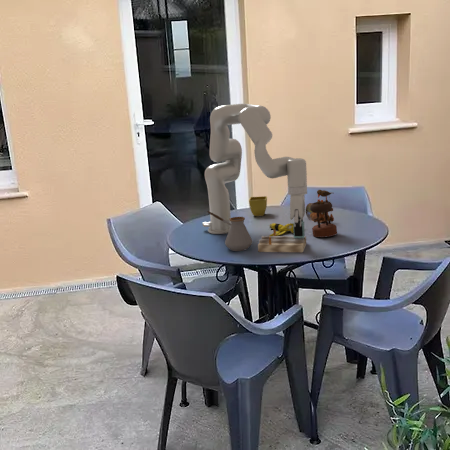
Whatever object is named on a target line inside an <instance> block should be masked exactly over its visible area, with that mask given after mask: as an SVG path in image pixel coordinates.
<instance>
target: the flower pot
mask: <svg viewBox="0 0 450 450" xmlns="http://www.w3.org/2000/svg"><path fill="white" fill-rule="evenodd" d="M248 202H249V209H250V212H251V214H252V215H253V217H261V216H262V217H263V216H265V213H266V211H267V206H268V196H267V195H266V196H265V195H264V196H250V197H249V199H248Z"/></svg>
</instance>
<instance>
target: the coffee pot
mask: <svg viewBox="0 0 450 450" xmlns="http://www.w3.org/2000/svg"><path fill="white" fill-rule="evenodd" d="M206 213H208V215H210V214H211V215H213V216H214V217H215V218H217V219H219V220H221V221H223V222H225V223H227V224H228V225H230V229H229V232H228V233H227V234H226V235H227V236H226V238H225V241H224V244H225V246H226V247H227V248H228V249H229V250H230V251H233V252H242V251H246V250H248V249H249V248H250V247H251V246H252V245H253V239H252V236H251V235H250V233H249V230H248V229H247V227H246V224H245V223H244V222H245V219H246V218H245V217H243V216H233V217H231V218H230V219H229V220H230V221H231V223H229V222H227V221H225V220H224V219H222V218H221V217H219V216H218V215H215V214H213V213H211V212H210V210H208V211H206Z"/></svg>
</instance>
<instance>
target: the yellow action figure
mask: <svg viewBox="0 0 450 450" xmlns="http://www.w3.org/2000/svg"><path fill="white" fill-rule="evenodd" d="M293 223H294V222H292V223H291V222H290V223H287V224H285V225H284V224H281V223H275V222H273V223H270V224H269V228H270V229H271V230H276V236H282V235H283V234H285V233H288V232H289V233H291V234H294V228H293ZM268 236H274V232H272V233H271V234H269V235H268Z"/></svg>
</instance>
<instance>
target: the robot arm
mask: <svg viewBox="0 0 450 450" xmlns="http://www.w3.org/2000/svg"><path fill="white" fill-rule="evenodd" d="M271 116H272V115H271V112H270V111H269V109H268V108H267V107H266V106H264V105H257V104H251V103H235V104H224V105H219V106H216V107H214V109H213V110H212V111H211V112H210V116H209V122H210V135H209V136H210V139H209V158H210V160H211V161H213V162H214V164H211V165H209V166H207V167H206V169H205V170H204V179H205V183H206V188H207V194H208V204H209V211H210V212H211V213H213V214H215V215H218V216H219V217H221V218H222V219H224V220H225V221H227V222H229V223H231V221H230V220H229V219H230V218H232V217H231V205H230V201H231V200H230V194H229V190H228V188H227V186H226V184H227V183H231V182H235V181H237V180H238V179H239V177H240V175H241V174H240V173H241V167H242V156H243V148H242V145H241V143H240V142H239V140H237V139H236V138H231V137H230V135H231V133H230V131H231V130H230V129H229V128H230V127H229V126H231V125H239V124H240V125H241V126H242V128H243V130H244V131H245V132H246V135H248V137H249V138H250V141H252V143H253V145H254V160H255V163H256V164H257V166H258V168H259V169H260V170H261V171H262V173H263V175H265V176H266V177H267V178H268V179H277V178H283V177H285V176H286V177H287V179H286V180H287V195H289V197H290V198H289V212H290V213H289V219H290V220H292V221H293V220H294V222H293V223H294V233H293V235H294V234H295V236H303V230H302V222H304V217H305V215H306V201H305V198H306V197H305V196H306V195H307V194H308V178H307V175H308V173H307V161H306V159H304V158H294V157H290V156H283V157H277V158H273V159H272V156H271V155H270V154H269V152H268V150H267V146H266V145H267V144H269V142H270V141H271V140H272V139H273V132H272V131H271V130H270V128H269V126H268V124H269V123H270V121H271V118H272V117H271ZM209 217H210V221H208V222H207V221H204V222H202V227H203V228H208V229H207V232H208V233H210V234H212V235H224V234H228V232H229V229H230V225H228V224H227V223H225V222H223V221H221V220H219V219H217V218H215V217H214V216H213V215H211V214H209Z"/></svg>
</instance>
